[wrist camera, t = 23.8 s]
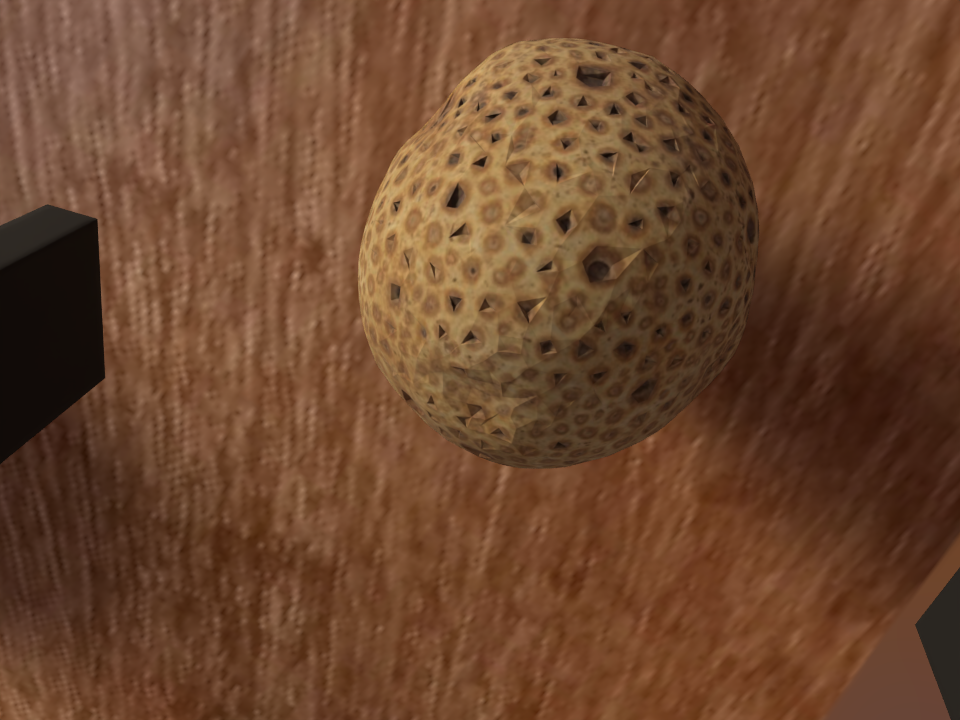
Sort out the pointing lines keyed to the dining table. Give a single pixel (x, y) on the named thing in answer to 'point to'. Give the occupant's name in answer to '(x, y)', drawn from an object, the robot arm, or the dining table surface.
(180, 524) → the dining table surface
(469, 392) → the natural sponge
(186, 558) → the dining table surface
